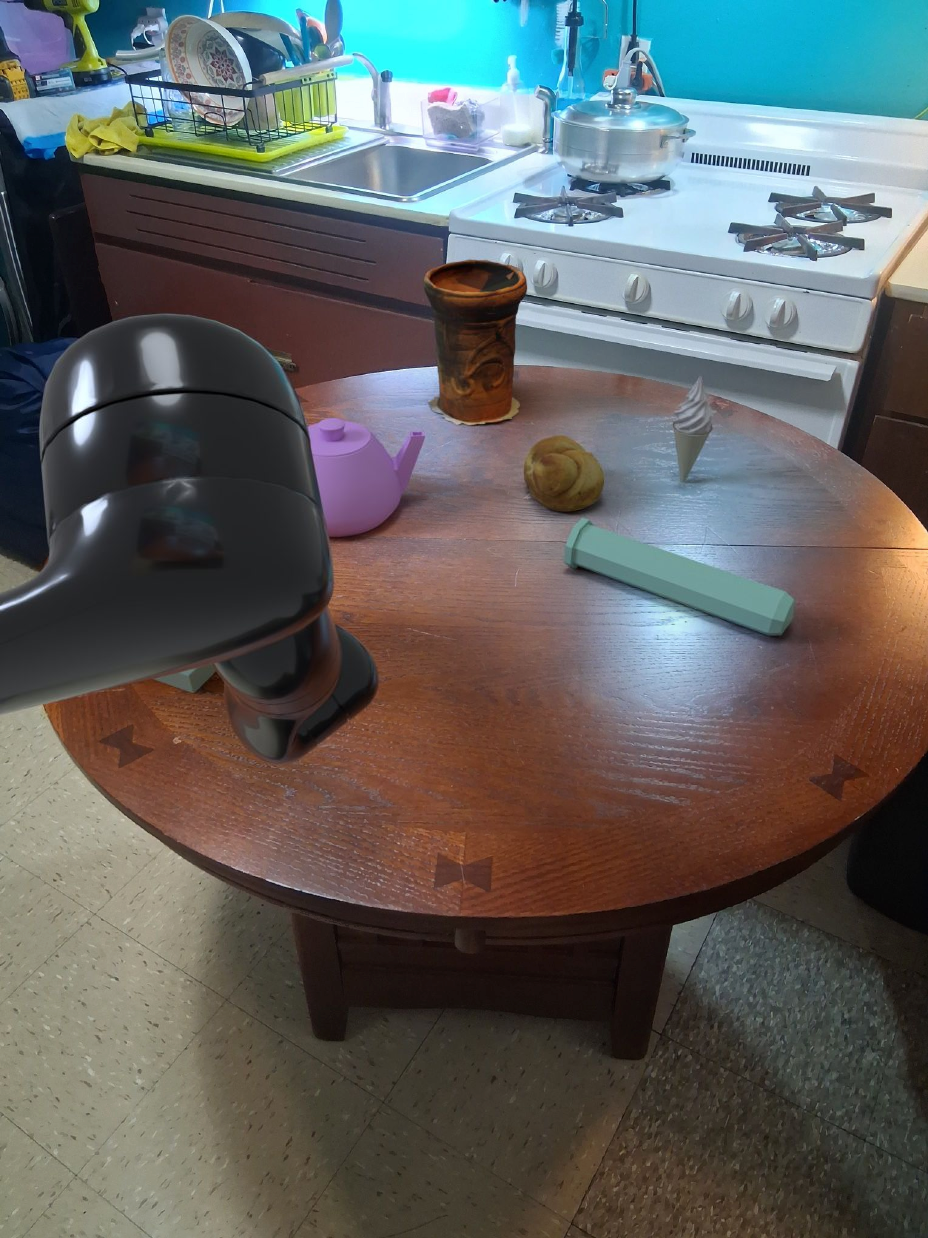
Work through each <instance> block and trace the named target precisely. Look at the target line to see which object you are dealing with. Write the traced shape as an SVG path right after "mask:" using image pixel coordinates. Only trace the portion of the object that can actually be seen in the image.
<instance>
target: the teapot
mask: <svg viewBox="0 0 928 1238" xmlns="http://www.w3.org/2000/svg"><path fill="white" fill-rule="evenodd" d="M307 426H308V430H309V435H310V441H311V450H312V455H313V460H314V465H315V471H316V476H317V481H318V486H319V491H320V497H321V502H322V507H323V512H324V517H325V520H326V523H327V528H328V534H329V538H343V537H352V536H356V535H361V534H364V533H367V532H369V531H372V530H374V529H375V528H377V527H379V526H380V525H381V524H383V523H384V522H385V521H386V520H387V519H388V518H389V517H390V516H391V515H392V514H393V513H394V511H395V510H396V509H397V507H398V506H399V504H400V501H401V499H402V493H404V492H406V490H407V487H408V485H409V482H410V479H411V476H412V474H413V472H414V469H415V465H416V463H417V461H418V458H419V455H420V452H421V450H422V447H423V445H424V441H425V439H426V434H425V431H424V430H412V431H411V430H410V431H409V434H408V436H407V437H406V439H405V441H404V442H403V444H402V445H401V448H400V449H399V451H398V452H397V454H396V456H394V457H392V456H391V455H390V454H389V452H388V450H387V449H386V448H385V446H384V445H383V444H382V443H381V442H380V440H379V439H378V438H377V437H376V435H374V433H373V432H371V430H369V429H368V428H367V427H366V426H364V425H362V424H360V423H357V422H354V421H349V420H344V419H342V418H338V417H330V418H329V417H328V418H324V419H322V420H320V421H319V422H317V423H313V424H311V425H307Z"/></svg>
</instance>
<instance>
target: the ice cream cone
mask: <svg viewBox="0 0 928 1238" xmlns="http://www.w3.org/2000/svg"><path fill="white" fill-rule="evenodd" d="M685 399H686V400H685V401H684V402H682V403H680V404H678V405H677V407H678V408H679V410H674V412H673V415H674V416H676V418H675V419H673V420H672V424H671V426H672V429H673V435H674V442H675V450H676V457H677V464H678V472H679V477H680V483H681V484H684V483H686V480H687V479H688V477H689V475H690V473H691V471H692V469H693V467H694V465H695V464H696V461H697V459H698V458H699V456H700V453H701V452H702V449H703V448H704V446H705V443H706V441H707V439H708V438H709V435H710V434H711V433H712V432H713V430H714V428H713V422H714V418H715V414H714V411H713V409H712V406H710V405H709V403H708V399H709V395H708V394H707V392H706V390H705V387H704V382H703V378H702V375H701V374H700V375H699V377H698V378H697V380H696V381H695V383H694V384H693V386H692V387H691V388H690V390H689V391H688V392H687V394H686V395H685Z"/></svg>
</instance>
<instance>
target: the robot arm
mask: <svg viewBox="0 0 928 1238" xmlns="http://www.w3.org/2000/svg"><path fill="white" fill-rule="evenodd" d="M41 401H42V402H41V407H40V408H41V409H40V415H39V416H40V418H39V431H38V433H39V434H38V437H39V439H38V440H39V456H40V466H41V467H40V468H41V477H42V479H41V480H42V489H43V490H42V491H43V499H44V500H43V501H44V502H43V503H44V512H45V513H44V515H45V524H46V525H45V526H46V537H47V545H48V549H49V550H48V554H49V556H48V562H47V563H46V564H45V565H44V567H43V568H42V569H41V571H40V572H39V573H38V574H37V575H35V576H34V577H33V578H31V579H29V580H28V581H26V582H23V583H21V584H19V585H17V586H15V587H13V588H11V589H8V590H5V591H2V592H0V716H3V715H6V714H10V713H15V712H19V711H22V710H26V709H31V708H34V707H35V708H36V707H38V706H43V705H47V704H50V703H55V702H59V701H60V702H61V701H64V700H68V699H72V698H76V697H77V698H78V697H81V696H85V695H89V694H94V693H98V692H102V691H107V690H110V689H115V688H119V687H124V686H128V685H132V684H136V683H140V682H145V681H150V680H153V679H154V678H158V677H163V676H167V675H171V674H175V673H179V672H183V671H187V670H191V669H195V668H199V667H203V666H207V665H210V664H212V665H213V667H214V669H215V670H216V672H215V673H217V674H218V676H219V677H220V679H221V680H222V681H223V683H224V684H223V685H224V686H223V702H224V707H225V711H226V715H227V718H228V721H229V723H230V726H231V728H232V730H233V733H235V735H236V738H237V739H238V740H239V741H240V742H241V744H242V746H244V747H245V748H246V749H247V750H248V751H249V752H250V754H252V755H253V756H254V757H256V758H257V759H259V760H261V761H262V762H265V763H268V764H271V765H286V764H291V763H294V762H296V761H298V760H300V759H302V758H303V757H305V756H306V755H307V754H309V753H310V752H311V751H313V750H314V749H316V748H317V747H318V746H319V745H320V744H322V743H323V742H325V741H326V740H327V739H329V738H330V737H331V736H332V735H333V734H335V733H336V732H337V731H338V730H340V729H341V728H342V727H343V726H345V725H346V724H347V723H349V721H352V720H353V719H354V718H356V717H357V716H358V715H360V714H361V713H362V712H363V711H364V710H366V709H367V708H368V707H369V706H370V705H371V703H373V701H374V700H375V698H376V696H377V693H378V690H379V685H380V684H379V683H380V678H379V669H378V666H377V664H376V661H375V658H374V657H373V655H372V653H371V652H370V650H369V649H368V648H367V647H366V646H365V644H363V643H362V641H361V640H360V639H359V638H358V637H356V636H355V635H354V634H353V633H351V632H350V631H349V630H347V629H346V628H344V627H343V626H340V625H339V624H337V623H335V621H334V618H333V616H332V613H331V611H330V608H329V603H330V602H331V599H332V597H333V595H334V591H335V570H334V559H333V553H332V548H331V541H330V537H329V534H328V528H327V523H326V520H325V517H324V512H323V507H322V502H321V497H320V491H319V486H318V481H317V476H316V471H315V465H314V460H313V455H312V450H311V441H310V435H309V430H308V426H309V425H308V421H307V419H306V416H305V413H304V409H303V406H302V403H301V401H300V398H299V395H298V394H297V391H296V389H295V387H294V385H293V382H292V380H291V378H290V377H289V375H288V374H287V373H286V371H285V370H284V369H283V366H282V365H281V364H280V362H279V361H278V359H277V358H275V357H274V355H272V354H271V353H270V352H269V351H268V350H267V349H266V348H265V347H264V346H263V345H262V344H261V343H259V342H258V341H257V340H255V339H254V338H252V337H251V336H249V335H247V334H245V332H243V331H241V330H240V329H237V328H236V327H235V328H234V327H232V326H230V325H227V324H225V323H222V322H219V321H218V320H215V319H209V318H205V317H200V316H196V315H191V314H177V313H155V314H145V315H134V316H129V317H125V318H121V319H117V320H113V321H111V322H109V323H105V324H103V325H101V326H99V327H96V328H94V329H92V330H90V331H89V332H87V333H86V334H84V335H82V336H81V337H79V338H78V339H77V340H76V341H74V342H73V343H71V344H70V345H69V346H68V347H67V348H66V350H65V351H64V352H63V353H62V354H61V355H60V356H59V358H57V360H56V361H55V363H54V365H53V367H52V369H51V372H50V374H49V376H48V378H47V380H46V382H45V385H44V389H43V395H42V400H41Z"/></svg>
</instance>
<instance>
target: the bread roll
mask: <svg viewBox="0 0 928 1238" xmlns="http://www.w3.org/2000/svg"><path fill="white" fill-rule="evenodd" d="M523 478H524V482H525V485H526V487H527V489H528V491H529V493H530V494H531V496H532V497H533V498H534V500H535V501H536V502H537V503H539V505H540V506H542V507H544V508H546V509H549V510H552V511H555V512H564V513H565V512H575V511H580V510H583V509H584V508H588V507H590V506H591V505H592V504H595V503H596V502H597V501H598V500H599V498H600V497H601V495H602V493H603V490H604V486H605V474H604V470H603V466H601V463H600V462H599V461H598V459H597V458H596V457H595V456H594V454H593V453H591V452H588V451H586V450H585V448H584V447H583V445H581V444H580V443H578V442H577V441H575V440H573V439H572V438H570V437H568V436H566V435H558V434H557V435H554V436H550V437H546V438H542V439H540V440H539V441H537V442H536V443H535V444H534V445H532V446H531V448H530V449H529V451H528V452H527V454H526V456H525V460H524V464H523Z"/></svg>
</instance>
